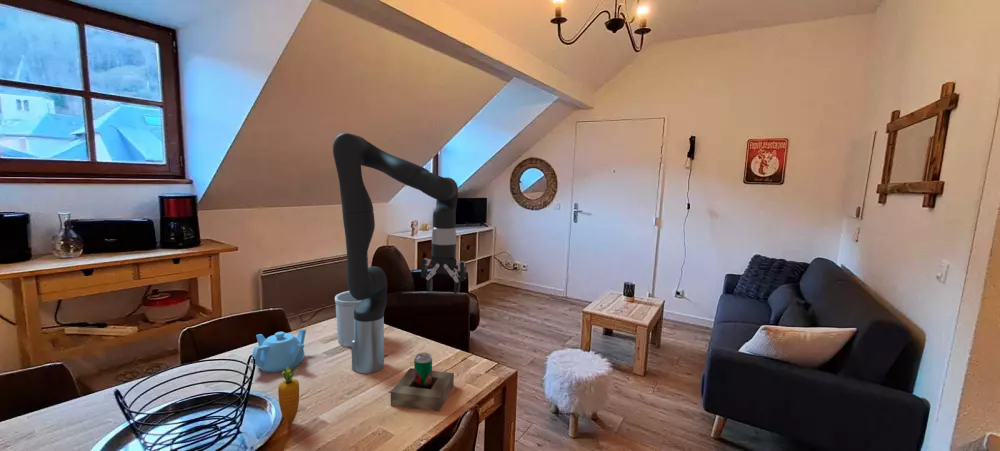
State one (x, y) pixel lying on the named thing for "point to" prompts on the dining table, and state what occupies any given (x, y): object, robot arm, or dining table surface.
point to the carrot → (289, 396)
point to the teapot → (279, 351)
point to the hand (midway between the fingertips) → (443, 292)
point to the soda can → (423, 371)
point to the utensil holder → (345, 317)
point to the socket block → (422, 392)
